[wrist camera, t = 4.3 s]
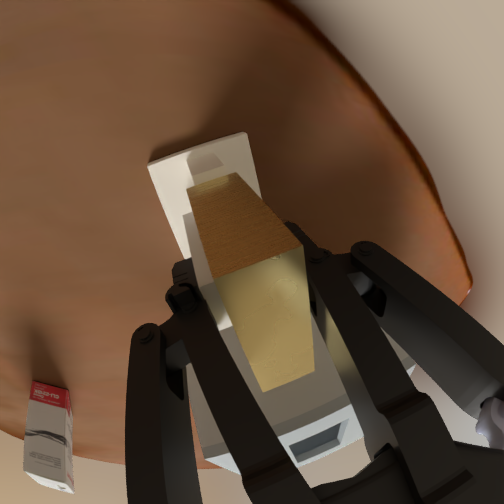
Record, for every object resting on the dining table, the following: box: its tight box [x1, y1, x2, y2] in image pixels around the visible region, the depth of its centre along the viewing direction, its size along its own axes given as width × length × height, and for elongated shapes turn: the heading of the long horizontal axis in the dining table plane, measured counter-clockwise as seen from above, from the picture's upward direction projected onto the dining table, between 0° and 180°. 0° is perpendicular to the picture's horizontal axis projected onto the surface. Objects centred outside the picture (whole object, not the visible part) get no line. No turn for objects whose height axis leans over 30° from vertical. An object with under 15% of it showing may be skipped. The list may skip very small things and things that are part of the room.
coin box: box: [186, 313, 416, 475], centre depth 23 cm, size 16×14×12 cm
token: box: [186, 172, 315, 392], centre depth 12 cm, size 7×2×7 cm, turn 12°
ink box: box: [23, 381, 74, 493], centre depth 19 cm, size 8×5×12 cm, turn 153°
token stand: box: [147, 132, 262, 259], centre depth 16 cm, size 9×6×4 cm, turn 12°
